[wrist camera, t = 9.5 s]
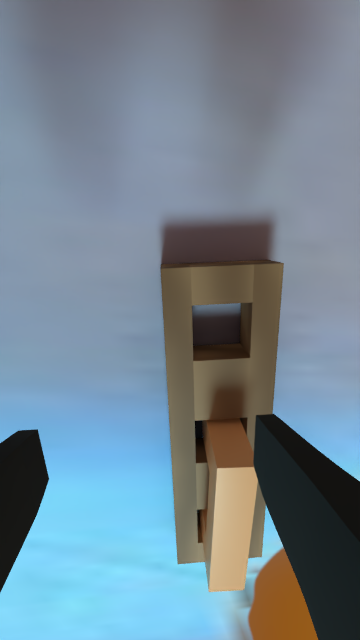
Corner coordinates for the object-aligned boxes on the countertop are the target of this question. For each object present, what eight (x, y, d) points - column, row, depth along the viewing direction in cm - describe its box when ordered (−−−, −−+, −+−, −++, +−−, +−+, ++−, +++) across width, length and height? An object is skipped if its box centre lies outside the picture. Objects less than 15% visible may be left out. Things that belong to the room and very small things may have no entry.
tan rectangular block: (198, 506, 24) (208, 592, 18) (202, 404, 21) (217, 468, 15) (225, 505, 24) (244, 590, 18) (233, 403, 21) (259, 466, 15)
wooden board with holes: (176, 532, 25) (177, 564, 22) (161, 264, 17) (160, 268, 15) (252, 526, 25) (261, 556, 22) (267, 259, 18) (283, 263, 15)
